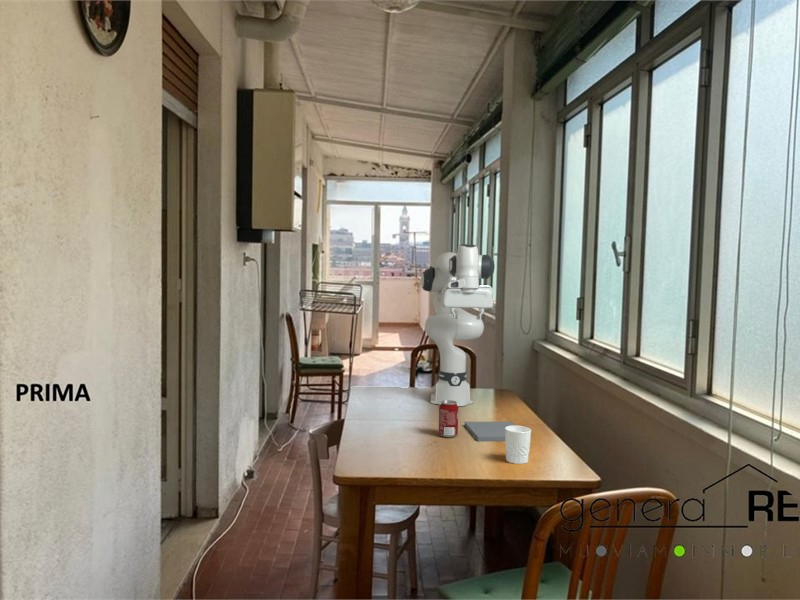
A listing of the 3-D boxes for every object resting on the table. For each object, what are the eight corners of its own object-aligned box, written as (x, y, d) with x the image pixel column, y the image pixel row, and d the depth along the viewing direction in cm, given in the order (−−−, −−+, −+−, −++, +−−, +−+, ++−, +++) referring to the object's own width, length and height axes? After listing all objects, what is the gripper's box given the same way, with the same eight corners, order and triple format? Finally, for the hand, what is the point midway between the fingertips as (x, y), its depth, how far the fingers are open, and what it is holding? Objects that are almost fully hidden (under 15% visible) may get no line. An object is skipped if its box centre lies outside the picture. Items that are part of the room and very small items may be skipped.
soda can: (456, 439, 210) (457, 404, 209) (437, 437, 211) (438, 403, 211) (458, 433, 217) (459, 400, 216) (439, 432, 218) (440, 399, 217)
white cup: (501, 456, 192) (502, 425, 191) (525, 456, 192) (527, 425, 192) (507, 464, 184) (508, 432, 183) (533, 464, 185) (534, 432, 184)
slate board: (464, 425, 228) (464, 421, 228) (510, 425, 230) (511, 421, 230) (477, 441, 208) (478, 436, 208) (528, 440, 210) (528, 436, 210)
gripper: (490, 285, 245) (490, 319, 244) (440, 284, 242) (440, 319, 242) (495, 284, 239) (494, 319, 238) (444, 283, 236) (443, 318, 235)
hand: (467, 319), depth 240 cm, fingers open, 8 cm apart
